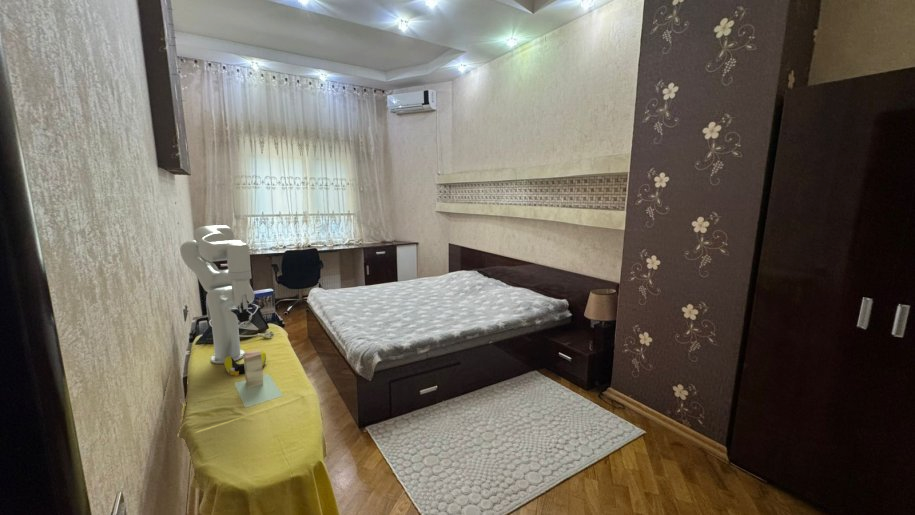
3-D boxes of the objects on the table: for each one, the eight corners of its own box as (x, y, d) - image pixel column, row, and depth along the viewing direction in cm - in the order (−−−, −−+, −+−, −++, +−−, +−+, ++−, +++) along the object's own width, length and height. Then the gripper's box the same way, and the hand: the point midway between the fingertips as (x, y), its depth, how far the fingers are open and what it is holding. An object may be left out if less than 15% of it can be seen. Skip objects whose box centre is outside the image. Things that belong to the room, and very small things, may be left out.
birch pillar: (245, 382, 140) (243, 353, 138) (260, 378, 143) (258, 349, 141) (248, 388, 136) (245, 357, 134) (263, 383, 139) (261, 354, 137)
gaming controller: (225, 368, 152) (223, 379, 143) (224, 355, 151) (221, 366, 142) (266, 361, 159) (266, 371, 150) (265, 349, 158) (265, 359, 149)
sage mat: (234, 384, 139) (234, 383, 139) (268, 375, 147) (268, 373, 147) (245, 409, 124) (245, 407, 124) (283, 397, 132) (283, 395, 132)
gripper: (225, 272, 145) (229, 317, 148) (232, 280, 133) (236, 328, 136) (246, 270, 149) (250, 313, 153) (255, 277, 138) (259, 324, 141)
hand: (243, 320), depth 145 cm, fingers closed
